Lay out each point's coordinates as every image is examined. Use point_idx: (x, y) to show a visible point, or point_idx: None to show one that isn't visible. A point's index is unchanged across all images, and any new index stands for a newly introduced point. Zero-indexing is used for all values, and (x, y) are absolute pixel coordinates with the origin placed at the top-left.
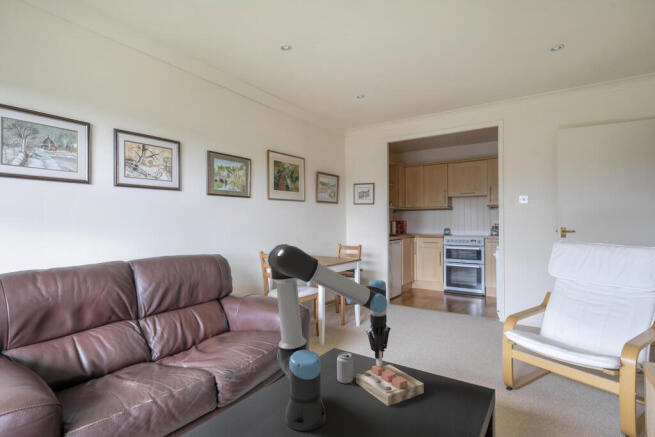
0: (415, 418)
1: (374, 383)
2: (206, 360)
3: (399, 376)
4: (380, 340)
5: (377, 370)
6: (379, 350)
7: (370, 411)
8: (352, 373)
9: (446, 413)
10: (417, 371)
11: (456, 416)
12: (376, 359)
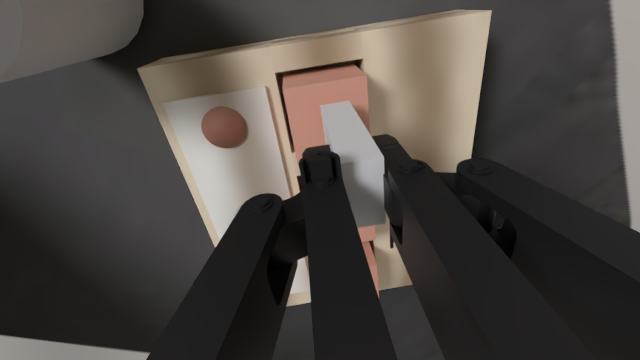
0: (300, 336)
1: (225, 228)
2: None
3: (372, 266)
4: (448, 336)
5: (296, 156)
6: (379, 184)
7: (169, 288)
8: (105, 44)
9: (399, 336)
10: (607, 70)
11: (411, 347)
12: (325, 127)
